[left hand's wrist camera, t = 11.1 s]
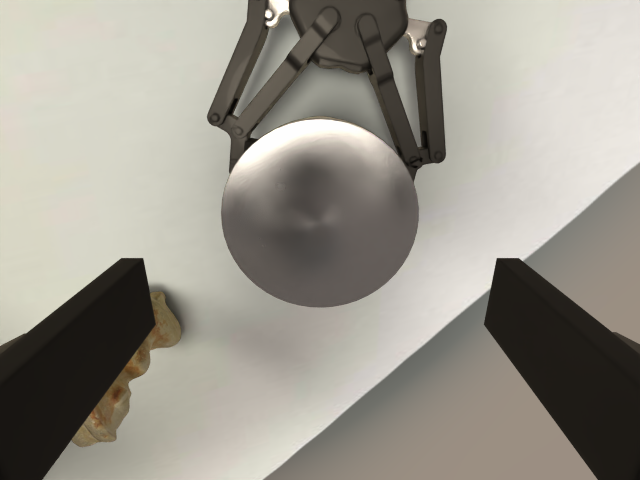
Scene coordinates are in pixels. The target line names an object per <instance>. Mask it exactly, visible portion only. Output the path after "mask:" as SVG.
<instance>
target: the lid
mask: <svg viewBox="0 0 640 480" xmlns="http://www.w3.org/2000/svg"><path fill="white" fill-rule="evenodd" d="M221 216H222V227H223V232H224V237H225V240H226V243H227V246H228V248H229V250H230V252H231V254H232V256H233V258H234V260H235V261H236V263H237V264H238V266H239V267H240V269H241V270H242V271H243V272H244V274H245V275H246V276H247V277H248V278H249V279H250V280H251V281H252V282H253V283H255V284H256V285H257V286H258V287H260V288H261V289H263V290H264V291H265V292H267V293H269V294H271V295H272V296H274V297H276V298H278V299H281V300H284V301H286V302H289V303H293V304H296V305H301V306H308V307H333V306H339V305H344V304H347V303H351V302H354V301H357V300H359V299H361V298H364V297H366V296H368V295H369V294H371V293H373V292H375V291H376V290H378V289H379V288H380V287H382V286H383V285H384V284H385V283H387V282H388V281H389V280H390V279H391V278H392V277H393V276H394V275H395V274H396V272H397V271H398V270H399V269H400V267H401V266H402V265H403V263H404V261H405V260H406V258H407V256H408V255H409V253H410V250H411V248H412V246H413V243H414V240H415V236H416V233H417V227H418V219H419V207H418V199H417V193H416V190H415V186H414V183H413V180H412V178H411V176H410V173H409V171H408V169H407V168H406V166H405V165H404V163H403V161H402V160H401V158H400V157H399V156H398V155H397V154H396V152H395V151H394V150H393V149H392V148H391V147H390V146H389V145H388V144H387V143H385V142H384V141H383V140H382V139H380V138H379V137H377V136H376V135H374V134H373V133H372V132H370V131H368V130H367V129H365V128H363V127H361V126H359V125H357V124H354V123H351V122H348V121H345V120H342V119H336V118H331V117H311V118H303V119H299V120H295V121H291V122H289V123H286V124H284V125H281V126H279V127H277V128H276V129H274V130H272V131H270V132H269V133H267V134H265V135H264V136H262V137H261V138H260V139H258V140H257V141H256V142H254V143H253V144H252V145H251V146H250V147H249V148H248V149H247V150H246V151H245V152H244V153H243V155H242V156H241V157H240V159H239V160H238V161H237V163H236V164H235V166H234V168H233V170H232V172H231V173H230V175H229V178H228V181H227V183H226V186H225V189H224V194H223V198H222V209H221Z"/></svg>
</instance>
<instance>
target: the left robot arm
mask: <svg viewBox="0 0 640 480" xmlns="http://www.w3.org/2000/svg"><path fill="white" fill-rule="evenodd" d="M155 325H156V322H155V316H154V311H153V306H152V301H151V296H150V291H149V286H148V281H147V275H146V270H145V265H144V260H143V258H121V259H120V260H119V261H117V262H116V263H115V264H113V265H112V266H111V267H110V268H108V269H107V270H106V271H105V272H103V273H102V274H101V275H100V276H98V277H97V278H96V279H95V280H93V281H92V282H91V283H89V284H88V285H87V286H86V287H84V288H83V289H82V290H81V291H79V292H78V293H77V294H76V295H74V296H73V297H72V298H71V299H69V300H68V301H67V302H65V303H64V304H63V305H62V306H60V307H59V308H58V309H57V310H55V311H54V312H53V313H52V314H50V315H49V316H48V317H47V318H45V319H44V320H43V321H41V322H40V323H39V324H38V325H36V326H35V327H34V328H33V329H31V330H30V331H29V332H28V333H26V334H23V335H21V336H19V337H17V338H15V339H13V340H11V341H9V342H7V343H5V344H3V345H1V346H0V480H42V479H43V478H44V476H45V475H46V474H47V472H48V471H49V470H50V468H51V467H52V466H53V464H54V463H55V461H56V460H57V459H58V457H59V456H60V455H61V453H62V452H63V451H64V449H65V448H66V446H67V445H68V444H69V442H70V441H71V440H72V438H73V437H74V436H75V434H76V433H77V431H78V430H79V429H80V427H81V426H82V425H83V423H84V422H85V421H86V419H87V418H88V417H89V415H90V414H91V412H92V411H93V410H94V408H95V407H96V406H97V404H98V403H99V402H100V400H101V399H102V397H103V396H104V395H105V393H106V392H107V391H108V389H109V388H110V387H111V385H112V384H113V382H114V381H115V380H116V378H117V377H118V376H119V374H120V373H121V372H122V370H123V369H124V367H125V366H126V365H127V363H128V362H129V361H130V359H131V358H132V357H133V355H134V354H135V352H136V351H137V350H138V348H139V347H140V346H141V344H142V343H143V342H144V340H145V339H146V337H147V336H148V335H149V333H150V332H151V331H152V329H153V328H154V327H155ZM484 325H485V327H486V328H487V329H488V331H489V332H490V333H491V335H492V336H493V337H494V339H495V340H496V342H497V343H498V344H499V346H500V347H501V348H502V350H503V351H504V352H505V354H506V355H507V357H508V358H509V359H510V361H511V362H512V363H513V365H514V366H515V367H516V369H517V370H518V372H519V373H520V374H521V376H522V377H523V378H524V380H525V381H526V382H527V384H528V385H529V387H530V388H531V389H532V391H533V392H534V393H535V395H536V396H537V397H538V399H539V400H540V402H541V403H542V404H543V406H544V407H545V408H546V410H547V411H548V412H549V414H550V415H551V416H552V418H553V419H554V421H555V422H556V423H557V425H558V426H559V427H560V429H561V430H562V431H563V433H564V434H565V436H566V437H567V438H568V440H569V441H570V442H571V444H572V445H573V446H574V448H575V449H576V451H577V452H578V453H579V455H580V456H581V457H582V459H583V460H584V461H585V463H586V464H587V465H588V467H589V468H590V470H591V471H592V472H593V474H594V475H595V476H596V478H597V479H598V480H640V344H638V343H636V342H634V341H632V340H630V339H628V338H626V337H624V336H622V335H620V334H618V333H616V332H611V331H610V330H609V329H607V328H606V327H605V326H604V325H602V324H601V323H600V322H599V321H597V320H596V319H595V318H593V317H592V316H591V315H590V314H588V313H587V312H586V311H585V310H583V309H582V308H581V307H580V306H578V305H577V304H576V303H575V302H573V301H572V300H571V299H569V298H568V297H567V296H566V295H564V294H563V293H562V292H561V291H559V290H558V289H557V288H556V287H554V286H553V285H552V284H551V283H549V282H548V281H547V280H545V279H544V278H543V277H542V276H540V275H539V274H538V273H537V272H535V271H534V270H533V269H532V268H530V267H529V266H528V265H526V264H525V263H524V262H523V261H521V260H520V259H519V258H497V260H496V265H495V270H494V275H493V281H492V286H491V291H490V296H489V301H488V306H487V311H486V317H485V322H484Z"/></svg>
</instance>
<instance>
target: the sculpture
mask: <svg viewBox="0 0 640 480" xmlns="http://www.w3.org/2000/svg"><path fill="white" fill-rule="evenodd" d="M150 296H151V301H152V306H153V311H154V316H155V322H156V325H155V327H154V328H153V329H152V331H151V332H150V333H149V335H148V336H147V337H146V339H145V340H144V342H143V343H142V344H141V346H140V347H139V348H138V350H137V351H136V352H135V354H134V355H133V357H132V358H131V359H130V361H129V362H128V363H127V365H126V366H125V367H124V369H123V370H122V372H121V373H120V374H119V376H118V377H117V378H116V380H115V381H114V382H113V384H112V385H111V387H110V388H109V389H108V391H107V392H106V393H105V395H104V396H103V397H102V399H101V400H100V402H99V403H98V404H97V406H96V407H95V408H94V410H93V411H92V412H91V414H90V415H89V417H88V418H87V419H86V421H85V422H84V423H83V425H82V426H81V427H80V429H79V430H78V431H77V433H76V434H75V436H74V437H73V438H72V441H73V442H74V443H75V444H76V445H78V446H79V447H85V446H91V445H93V444H95V443H97V442H112V441H115V440H116V429H117V428H118V427H119V425H120V424H121V422H122V420H123V418H124V417H125V416H126V415H127V413H128V412H129V399H130V396H131V391H130V389H129V386H128V383H129V382H130V381H131V380H132V379H134V378H137V377H139V376H141V375H143V374H144V373H145V372H146V371H147V370H148V368H149V365H150V353H149V352H150V350H153V349H156V348H168V347H172V346H174V345H176V344H177V343H178V342H179V340H180V338H181V328H180V325H179V323H178V321H177V319H176V317H175V316H174V314H173V313H172V312H171V311H170V310H169V308H168V307H167V306H166V303H165V299H166V296H165V295H164V293H163V292H152V293H150Z"/></svg>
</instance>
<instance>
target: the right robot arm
mask: <svg viewBox="0 0 640 480" xmlns="http://www.w3.org/2000/svg"><path fill="white" fill-rule="evenodd" d="M284 15H290V16H291V19H292V21H293V23H294V25H295V27H296V30H297V32H298V34H299V36H300V38H301V39H300V40H299V41H298V43H297V44H296V45H295V46H294V48H293V49H292V50H291V51H290V53H289V54H288V56H287V57H286V59H285V60H284V62H283V63H282V64H281V65H280V67H279V68H278V69H277V70H276V71H275V73H274V74H273V75H272V76H271V78H270V79H269V80H268V81H267V83H266V84H265V85H264V86H263V88H262V89H261V90H260V91H259V93H258V94H257V95H256V96H255V98H254V99H253V100H252V101H251V103H250V104H249V105H248V106H247V108H246V109H245V110H244V111H243V112H242V114H241V115H240V116H239V117H236V116H235V115H233V113H234V111H235V108H236V106H237V104H238V102H239V99H240V97H241V95H242V93H243V90H244V88H245V86H246V84H247V81H248V79H249V77H250V75H251V72H252V70H253V68H254V66H255V63H256V61H257V59H258V57H259V54H260V52H261V50H262V48H263V45H264V43H265V41H266V38H267V35H268V31H269V28H275V27H277V25H278V24H279V21H280V19H281V17H282V16H284ZM446 31H447V25H446V22H445V21H444V20H442V19H436V20H434V21H433V22H425V21H420V20H415V19H410V18H408V14H407V10H406V0H248V12H247V22H246V24H245V27H244V29H243V31H242V34H241V36H240V39H239V41H238V43H237V46H236V48H235V50H234V53H233V55H232V58H231V60H230V62H229V65H228V67H227V69H226V72H225V74H224V76H223V79H222V81H221V84H220V86H219V88H218V91H217V93H216V95H215V98H214V100H213V103H212V105H211V107H210V110H209V112H208V115H207V119H208V121H209V123H210V124H211V125H213V126H217V127H219V128H221V129H222V130H224V131H226V132H227V133H228V134H229V135H230V138H231V151H230V165H229V173H231V172H232V170H233V168H234V166H235V164H236V163H237V161H238V160H239V159H240V157H241V156H242V155H243V153H244V152H245V151H246V150H247V149H248V148H249V147H250V146H251V145H252V144H253V143H254V142H256V141H257V140H258V139H254V138H250V135H251V133H252V131H253V130H254V129H255V128H256V126H257V125H258V124H259V123H260V122H261V120H262V119H263V118H264V117H265V116H266V114H267V113H268V112H269V111H270V110H271V108H272V107H273V106H274V105H275V104H276V102H277V101H278V100H279V99H280V98H281V96H282V95H283V94H284V93H285V92H286V90H287V89H288V88H289V87H290V85H291V84H292V83H293V82H294V81H295V79H296V78H297V77H298V76H299V75H300V74H301V73H302V72H303V71H304V69H305V68H306V67H307V66H308V65H309V63H310V62H311V61H312V62H314V63H315V64H316V65H318V66H319V67H321V68H327V69H332V68H341V69H343V70H345V71H347V72H349V73H354V74H359V73H363V72H366V71H367V74H368V76H369V79H370V82H371V84H372V86H373V87H374V90H375V93H376V95H377V98H378V101H379V104H380V106H381V109H382V112H383V114H384V117H385V120H386V123H387V125H388V128H389V131H390V133H391V136H392V139H393V142H394V144H395V147H396V150H397V152H398V155H399V157H400V158H401V160H402V161H403V163H404V165H405V166H406V168H407V169H408V171H409V173H410V176H411V178H412V180H413V183H414V179H415V175H416V172H417V170H418V169H419V168H421V167H422V165H425V164H430V163H440V162H442V161H443V160H444V159H445V156H446V149H445V133H444V116H443V100H442V84H441V67H440V55H441V51H442V47H443V43H444V39H445V35H446ZM402 36H404V37H406V38H407V39H408V41H409V50H410V52H411V53H412V54H413V55H416V57H415V75H416V87H417V99H418V110H419V122H420V134H421V146H422V147H417V144H416V142H415V139H414V136H413V133H412V130H411V127H410V124H409V121H408V119H407V116H406V113H405V110H404V107H403V104H402V101H401V98H400V95H399V93H398V90H397V87H396V84H395V81H394V78H393V71H392V68H391V65H390V62H389V59H388V57H387V54H386V53H387V52H388V51H389V50H390V49H391V48H392V47H393V46H394V45H395V43H396V42H397V41H398V40H399V39H400V38H401V37H402Z"/></svg>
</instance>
